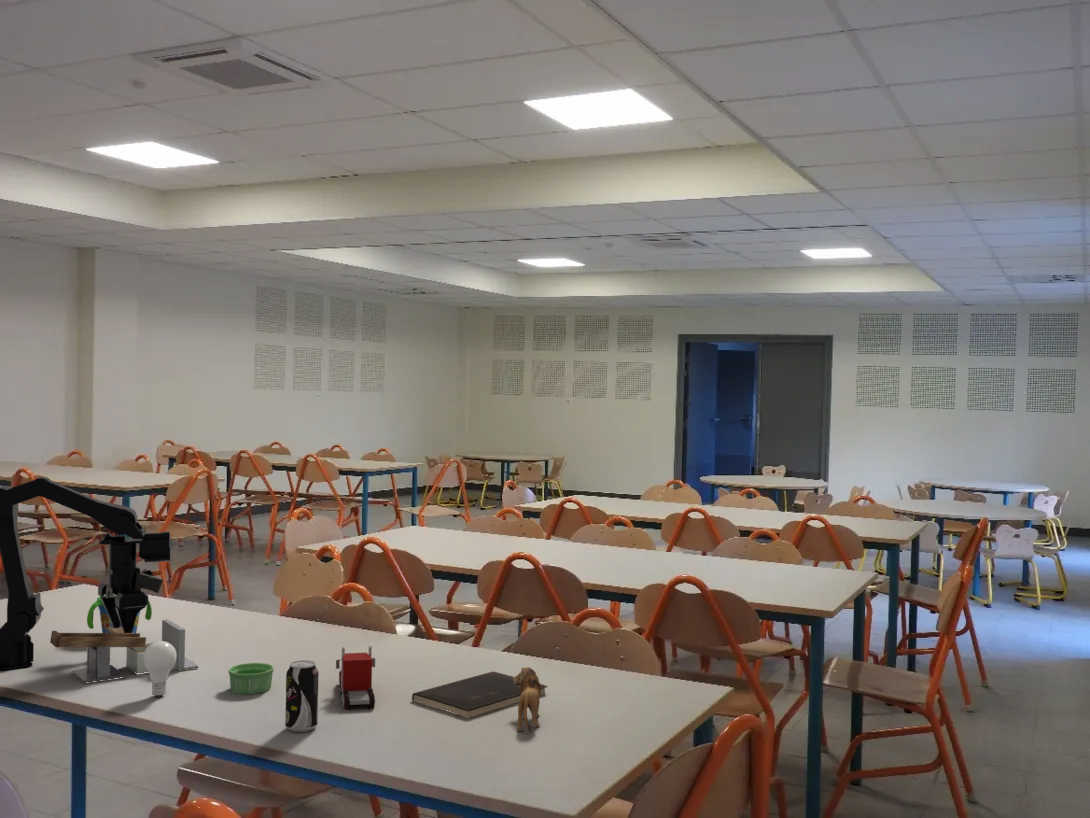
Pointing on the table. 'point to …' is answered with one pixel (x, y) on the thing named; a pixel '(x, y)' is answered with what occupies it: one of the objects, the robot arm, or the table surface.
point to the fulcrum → (98, 666)
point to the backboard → (177, 643)
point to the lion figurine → (528, 696)
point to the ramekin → (250, 678)
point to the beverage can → (301, 696)
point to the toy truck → (356, 678)
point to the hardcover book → (473, 694)
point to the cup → (137, 659)
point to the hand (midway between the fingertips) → (122, 631)
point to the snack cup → (106, 620)
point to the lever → (98, 639)
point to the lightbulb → (159, 664)
